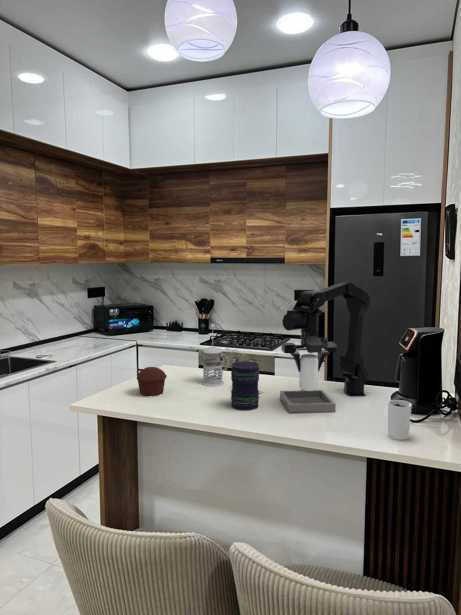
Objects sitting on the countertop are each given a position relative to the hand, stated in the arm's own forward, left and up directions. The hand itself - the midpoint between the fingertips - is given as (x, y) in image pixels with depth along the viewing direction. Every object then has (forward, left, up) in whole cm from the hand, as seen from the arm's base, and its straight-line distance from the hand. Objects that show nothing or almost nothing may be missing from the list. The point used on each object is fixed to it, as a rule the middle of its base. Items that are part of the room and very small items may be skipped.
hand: (308, 371), depth 163 cm
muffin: (+56, -19, -13) cm, 61 cm away
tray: (0, 0, -12) cm, 12 cm away
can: (0, 0, -7) cm, 6 cm away
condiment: (+18, -18, -13) cm, 29 cm away
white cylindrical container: (-20, +29, -13) cm, 38 cm away
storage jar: (+22, -1, -13) cm, 26 cm away
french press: (+31, -31, -13) cm, 46 cm away
